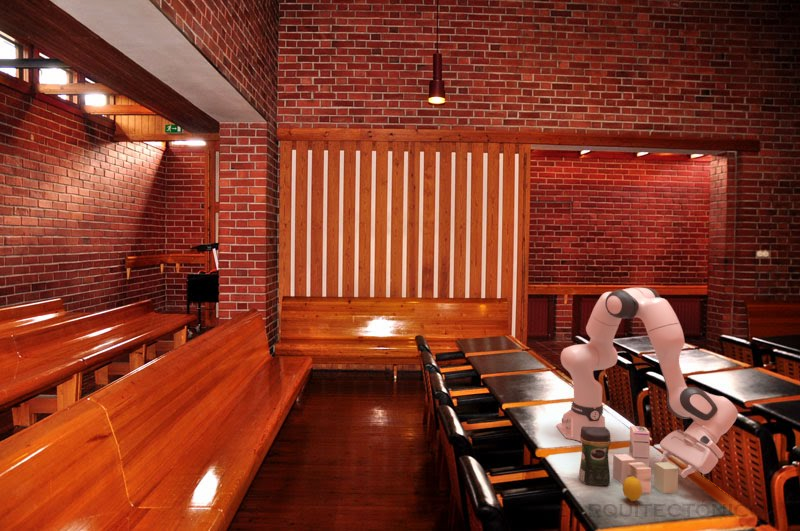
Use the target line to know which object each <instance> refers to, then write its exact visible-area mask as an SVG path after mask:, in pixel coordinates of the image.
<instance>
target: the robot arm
mask: <svg viewBox="0 0 800 531" xmlns="http://www.w3.org/2000/svg"><path fill="white" fill-rule="evenodd" d="M634 318H638V319H640V320H641V321H642V323H643V325H644V327H645V330H646V333H647V335H648V338H649V341H650V344H651V345H652V348H653V350H654V353H655V355H656V358H657V361H658V364H659V367H660V371H661V373H662V377H663V380H664V383H665V386H666V392H667V393H666V394H667V395H666V405H667V408H668V410H669V412H670V413H671V414H672V415H673V416H675V417H676V418H679V419H685V420H688V419H692V420H693V421H692V423H691V424H690V425H689V426H688V427H687V429H685V431H684V430H683V429H677V430H676V429H675V430H673V431H672V432H670V433H669V434H667V435H666V436H665V437H664V438H663V439H662V440H661V441H660V443H659V447H660V448H661V449H662V450H663V451H662V457H661V458H660V459H659V462H668V460H669V458H671V457H672V456H673V457H674V458H676V459H677V460H679V461H681V462H682V463H684V464H686V465H687V467H686V468H684V469H680V470H679V471H678V476H680V477H682V478H683V479H685V478H686V477H687V476H688V475H691V474H693V473H695V472H696V471H698V472H700V473H701V474H702V475H706V474H709V473H710V472H711V471H712V470H713V468H715V467H716V465H717V464H718V462H719V459H722V458H723V457H724V452H723V451H722V450H721V449H720V448H719V446H718V445H717V443H719V440H720V438H721V437H722V435H724V434H727V432H728V431H729V430H730V428H731V427H732V426H733V424H734V423H735V422H736V420H737V418H738V416H739V410H738V409H737V406H735V404H734V403H733V402H732V401H731V400H729V399H728V398H727V397H725V396H723V395H722V396H721V395H715V394H712V393H709V392H708V391H705V390H703V389H701V388H699V387H697V386H689V387H688V386H687V383H686V380H685V378H684V374H683V373H682V372H683V371H682V368H681V366H680V356H681V354H682V350H683V348H684V345H685V343H686V342H685V335H684V332H683V328H682V325H681V323H680V321H679V318H678V316H677V314H676V312H675V311H674V309H673V307H672V305H671V304H670V303H669V301H668V300H667V299H665V298H664V297H663V298H662V297H661V296H660V294H659V292H658V291H656V290H655V289H653V288H650V287H646V286H642V287H636V286H635V287H629V288H625V289H624V288H623V289H616V290H614V291H606V292H604V293H602V295H600V297H599V299H598V300H597V301H596V303H595V305H594V307H593V309H592V312H591V314H590V317H589V318H588V321H587V324H586V326H585V331H586V334H587V335H588V336H587V337H589V338H590V339H589V342H587V343H582V344H581V343H580V344H574V345H573V344H572V345H570V346H567V347H565V348H563V349H562V351H561V353H560V362H561V365H562V367H563V369H565V370H566V371H567V372H568V373H569V375H570V377H571V379H572V383H573V400H571V401H570V404H571V406H570V410H568V411H566V412H564V413H563V415H562V417H561V422H560V423H557V424H556V427H557V430H559V432H560V433H561V434H562V436H563V437H564V438H565V439H567V440H574V441H577V442H581V440H580V434H581V428H582V427H583V426H585V427H606V418H605V416H604V415H603V414H604V405H603V386H602V384H601V383H600V382H599V381H598V380H596V379H595V377H594V371H600V370H607V369H609V368H612V367H613V366H615V365H617V362H618V358H619V357H618V355H619V354H618V352H617V349H616V347H614V339H615V335H616V333H617V331H618V329H619V325H620V324H621V321H622V319H624V320H625V319H634Z"/></svg>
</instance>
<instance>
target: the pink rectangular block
mask: <svg viewBox="0 0 800 531" xmlns="http://www.w3.org/2000/svg"><path fill="white" fill-rule="evenodd" d="M612 456H613V457H612V458H613V461H612V462H613V463H612V479H614V480H615V481H616V482H618V483H619V484H620V485H623V483H624V481H625V479H626V478H628V463H635V461H636V460H635V459H633V458H632V457H630V456H629V453H628V454H627V453H623V454H622V453H621V454H620V453H619V454H613V455H612Z"/></svg>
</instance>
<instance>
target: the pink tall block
mask: <svg viewBox="0 0 800 531" xmlns="http://www.w3.org/2000/svg"><path fill="white" fill-rule="evenodd" d="M631 476H634V477H635V478H637V479H638V480H639V481H640V483H641V486H642V494H651V489H652V485H651V484H652V483H651V482H652V468H651V467H650V466H649V467H648V466H647V465H645V464H644V463H642V462H637V463H628V477H631Z"/></svg>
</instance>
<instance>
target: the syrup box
mask: <svg viewBox="0 0 800 531" xmlns="http://www.w3.org/2000/svg"><path fill="white" fill-rule="evenodd" d="M650 435H651V434H650V431H649V430H648V429H647V427H646V426H641V425H640V426H638V425H631V426H629V449H628V450H629V453H628V455H629V456H630V457H632V458H633V459H635V460H636V461H635V463H637V462H642V463H644V464H645V465H647V466H648V467H650V444H651V443H650Z"/></svg>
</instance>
